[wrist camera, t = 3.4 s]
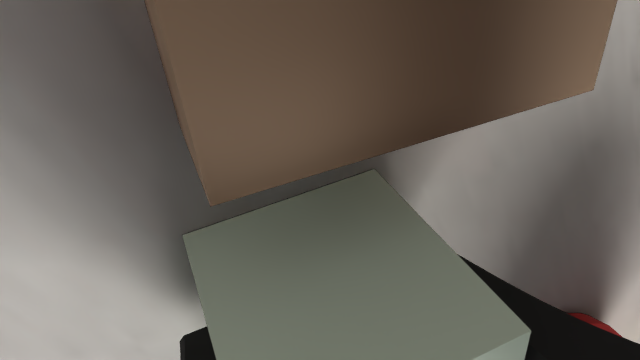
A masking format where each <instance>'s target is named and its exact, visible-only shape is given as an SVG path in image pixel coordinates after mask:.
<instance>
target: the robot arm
mask: <svg viewBox="0 0 640 360" xmlns="http://www.w3.org/2000/svg"><path fill="white" fill-rule="evenodd" d="M457 255H458V254H457ZM458 256H459V257H460V258H461V259H462V260H463V261H464V262H465V263H466V264H467V265H468V266H469V267H470V268H471V269H472V270H473V271H474V272H475V273H476V274H477V275H478V276H479V277H480V278H481V279H482V280H483V281H484V282H485V283H486V285H487V286H488V287H489V288H490V289H491V290H492V291H493V292H494V293H495V294H496V295H497V296H498V297H499V298H500V299H501V300H502V301H503V302H504V303H505V304H506V305H507V306H508V307H509V308H510V309H511V310H512V311H513V312H514V313H515V314H516V315H517V316H518V317H519V318H520V319H521V320H522V322H523V323H524V324H525V325H526V326H527V327H528V328H529V329H530V330H531V334H530V338H529V343H528V347H527V351H526V355H525V360H640V344H638V343H635V342H632V341H630V340H627V339H625V338H623V337H620V336H618V335H615V334H613V333H611V332H608V331H606V330H603V329H601V328H599V327H596V326H594V325H591V324H589V323H587V322H585V321H582V320H580V319H578V318H576V317H574V316H571V315H569V314H567V313H565V312H563V311H561V310H559V309H557V308H555V307H553V306H551V305H549V304H547V303H545V302H543V301H541V300H539V299H537V298H535V297H533V296H531V295H529V294H527V293H525V292H524V291H522V290H520V289H518V288H516V287H514V286H513V285H511V284H509V283H507V282H505V281H503V280H501V279H500V278H498V277H496V276H494V275H493V274H491V273H489V272H487V271H485V270H484V269H482V268H480V267H479V266H477V265H475V264H473V263H472V262H470V261H468V260H467V259H465V258H463V257H461V256H460V255H458ZM180 353H181V360H216V356H215V353H214V349H213V345H212V342H211V338H210V335H209V331H208V327H204V328H202V329H199V330H197V331H194V332H192V333H189V334H187V335H184V336H183V338H182V339H181V340H180Z"/></svg>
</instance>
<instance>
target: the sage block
mask: <svg viewBox="0 0 640 360" xmlns="http://www.w3.org/2000/svg"><path fill="white" fill-rule="evenodd" d="M182 236H183V240H184V244H185V247H186V251H187V255H188V258H189V262H190V266H191V269H192V273H193V276H194V280H195V284H196V287H197V291H198V295H199V298H200V302H201V306H202V309H203V313H204V316H205V320H206V324H207V327H208V331H209V335H210V338H211V342H212V345H213V349H214V353H215V356H216V360H525V355H526V351H527V347H528V343H529V338H530V334H531V330H530V329H529V328H528V327H527V326H526V325H525V324H524V323H523V322H522V320H521V319H520V318H519V317H518V316H517V315H516V314H515V313H514V312H513V311H512V310H511V309H510V308H509V307H508V306H507V305H506V304H505V303H504V302H503V301H502V300H501V299H500V298H499V297H498V296H497V295H496V294H495V293H494V292H493V291H492V290H491V289H490V288H489V287H488V286H487V285H486V283H485V282H484V281H483V280H482V279H481V278H480V277H479V276H478V275H477V274H476V273H475V272H474V271H473V270H472V269H471V268H470V267H469V266H468V265H467V264H466V263H465V262H464V261H463V260H462V259H461V258H460V257H459V256H458V255H457V254H456V253H455V252H454V251H453V250H452V249H451V248H450V246H449V245H448V244H447V243H446V242H445V241H444V240H443V239H442V238H441V237H440V236H439V235H438V234H437V233H436V232H435V231H434V230H433V229H432V228H431V227H430V226H429V225H428V224H427V223H426V222H425V221H424V220H423V219H422V218H421V217H420V216H419V215H418V214H417V213H416V212H415V211H414V210H413V208H412V207H411V206H410V205H409V204H408V203H407V202H406V201H405V200H404V199H403V198H402V197H401V196H400V195H399V194H398V193H397V192H396V191H395V190H394V189H393V188H392V187H391V186H390V185H389V184H388V183H387V182H386V181H385V180H384V179H383V178H382V177H381V176H380V175H379V174H378V173H377V171H376V170H375V169H373V170H370V171H367V172H364V173H361V174H358V175H356V176H353V177H350V178H347V179H344V180H341V181H338V182H335V183H332V184H329V185H327V186H324V187H321V188H318V189H315V190H312V191H309V192H306V193H303V194H300V195H298V196H295V197H292V198H289V199H286V200H283V201H280V202H277V203H274V204H271V205H269V206H266V207H263V208H260V209H257V210H254V211H251V212H248V213H245V214H243V215H240V216H237V217H234V218H231V219H228V220H225V221H222V222H219V223H216V224H214V225H211V226H208V227H205V228H202V229H199V230H196V231H193V232H190V233H187V234H185V235H182Z"/></svg>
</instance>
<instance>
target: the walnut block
mask: <svg viewBox="0 0 640 360" xmlns="http://www.w3.org/2000/svg"><path fill="white" fill-rule="evenodd" d="M144 1H145V5H146V8H147V12H148V15H149V19H150V22H151V26H152V29H153V33H154V36H155V40H156V43H157V47H158V50H159V54H160V58H161V61H162V65H163V68H164V72H165V75H166V79H167V82H168V86H169V89H170V93H171V96H172V100H173V103H174V107H175V110H176V114H177V117H178V121H179V124H180V128H181V130H182V133H183V136H184V138H185V141H186V143H187V146H188V149H189V151H190V154H191V157H192V159H193V162H194V165H195V167H196V170H197V172H198V175H199V178H200V180H201V183H202V186H203V188H204V191H205V194H206V196H207V199H208V201H209V204H210V207H211V206H214V205H218V204H221V203H224V202H228V201H231V200H234V199H237V198H241V197H244V196H247V195H250V194H254V193H257V192H260V191H264V190H267V189H270V188H273V187H277V186H280V185H283V184H287V183H290V182H293V181H296V180H300V179H303V178H306V177H310V176H313V175H316V174H319V173H323V172H326V171H329V170H333V169H336V168H339V167H342V166H346V165H349V164H352V163H355V162H359V161H362V160H365V159H369V158H372V157H375V156H378V155H382V154H385V153H388V152H392V151H395V150H398V149H401V148H405V147H408V146H411V145H415V144H418V143H421V142H424V141H428V140H431V139H434V138H437V137H441V136H444V135H447V134H451V133H454V132H457V131H460V130H464V129H467V128H470V127H474V126H477V125H480V124H483V123H487V122H490V121H493V120H497V119H500V118H503V117H506V116H510V115H513V114H516V113H519V112H523V111H526V110H529V109H533V108H536V107H539V106H542V105H546V104H549V103H552V102H556V101H559V100H562V99H565V98H569V97H572V96H575V95H579V94H582V93H585V92H588V91H592V90H594V86H595V82H596V78H597V75H598V71H599V67H600V63H601V60H602V56H603V52H604V48H605V45H606V41H607V37H608V33H609V30H610V26H611V22H612V18H613V15H614V11H615V7H616V3H617V0H144Z"/></svg>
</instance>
